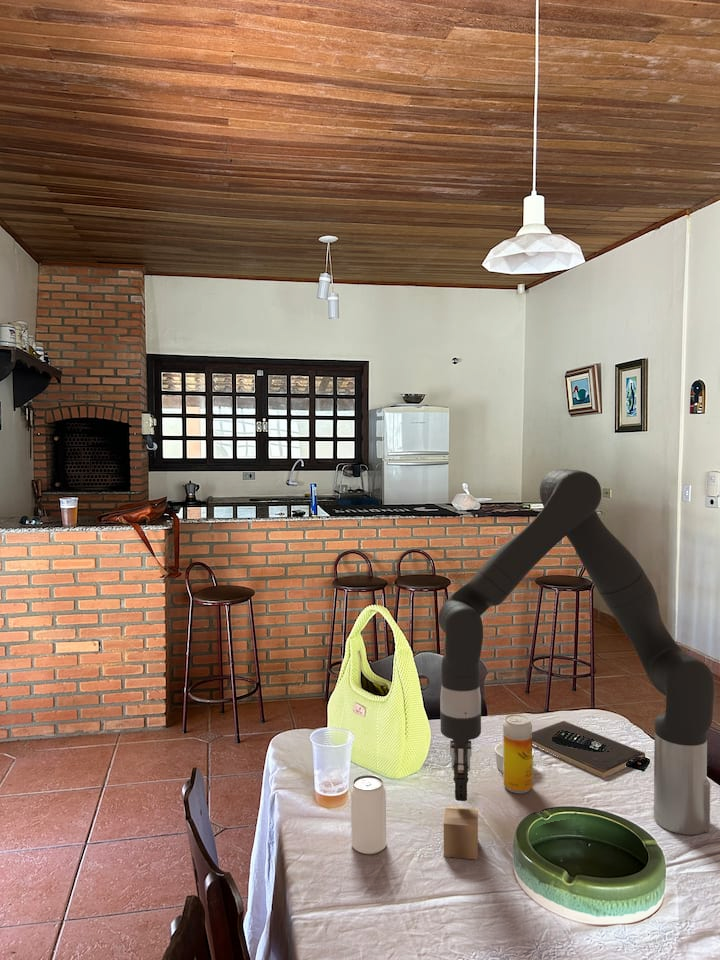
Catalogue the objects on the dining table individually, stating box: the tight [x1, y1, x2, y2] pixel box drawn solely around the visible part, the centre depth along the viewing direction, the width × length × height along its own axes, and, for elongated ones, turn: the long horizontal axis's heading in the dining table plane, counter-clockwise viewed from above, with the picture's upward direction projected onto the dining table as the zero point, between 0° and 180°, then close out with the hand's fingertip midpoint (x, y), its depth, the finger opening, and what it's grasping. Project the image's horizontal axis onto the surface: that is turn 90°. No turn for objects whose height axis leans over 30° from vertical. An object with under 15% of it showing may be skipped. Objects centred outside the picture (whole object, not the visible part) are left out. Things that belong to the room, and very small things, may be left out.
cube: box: [443, 806, 479, 860], centre depth 125 cm, size 6×6×6 cm
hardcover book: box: [532, 720, 646, 779], centre depth 164 cm, size 16×23×2 cm
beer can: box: [502, 714, 533, 794], centre depth 147 cm, size 6×6×15 cm
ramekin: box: [494, 742, 535, 773], centre depth 156 cm, size 9×9×4 cm
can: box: [350, 774, 387, 855], centre depth 126 cm, size 6×6×12 cm
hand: (461, 798), depth 128 cm, fingers closed
